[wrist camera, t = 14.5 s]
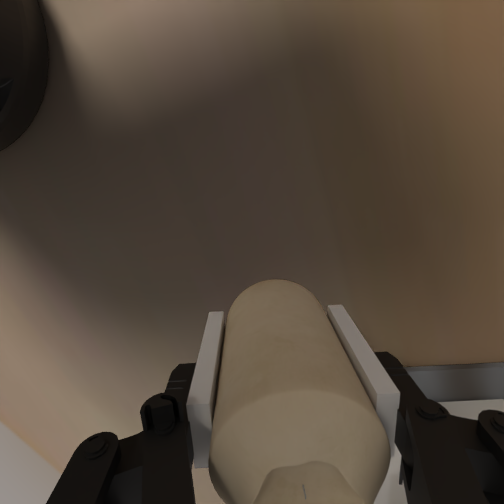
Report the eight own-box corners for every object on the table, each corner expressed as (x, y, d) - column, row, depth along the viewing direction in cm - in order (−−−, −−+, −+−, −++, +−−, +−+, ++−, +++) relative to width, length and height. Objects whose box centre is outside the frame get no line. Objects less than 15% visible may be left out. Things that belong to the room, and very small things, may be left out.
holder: (334, 527, 30) (345, 573, 27) (337, 407, 26) (350, 442, 23) (479, 520, 30) (508, 565, 27) (502, 399, 26) (540, 433, 23)
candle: (330, 280, 17) (439, 438, 7) (317, 367, 18) (394, 591, 9) (228, 274, 17) (202, 428, 7) (224, 363, 18) (199, 587, 9)
